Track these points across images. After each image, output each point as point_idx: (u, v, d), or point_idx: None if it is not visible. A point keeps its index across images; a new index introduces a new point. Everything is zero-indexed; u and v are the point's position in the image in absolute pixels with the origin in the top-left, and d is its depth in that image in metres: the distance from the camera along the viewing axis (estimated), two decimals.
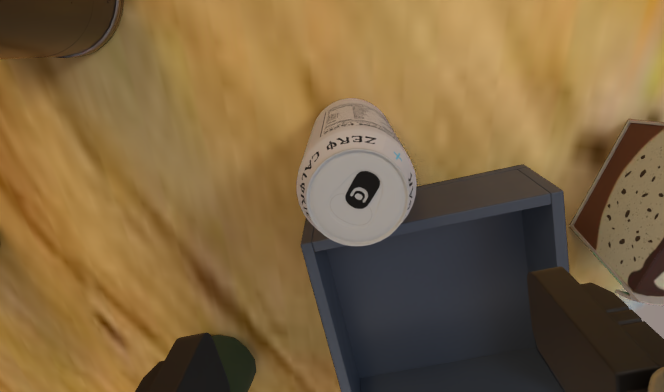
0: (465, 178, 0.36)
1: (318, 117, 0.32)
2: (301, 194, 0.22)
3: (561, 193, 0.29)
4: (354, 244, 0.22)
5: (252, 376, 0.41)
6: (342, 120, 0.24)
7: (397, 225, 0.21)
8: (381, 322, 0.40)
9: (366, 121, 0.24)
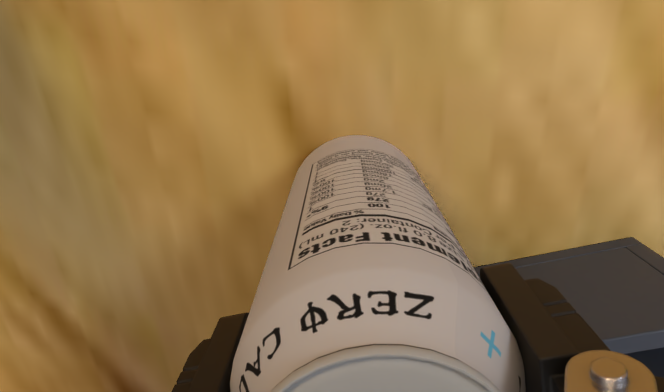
0: (538, 259, 0.22)
1: (301, 169, 0.19)
2: None
3: None
4: None
5: None
6: (342, 213, 0.11)
7: None
8: None
9: (396, 218, 0.11)
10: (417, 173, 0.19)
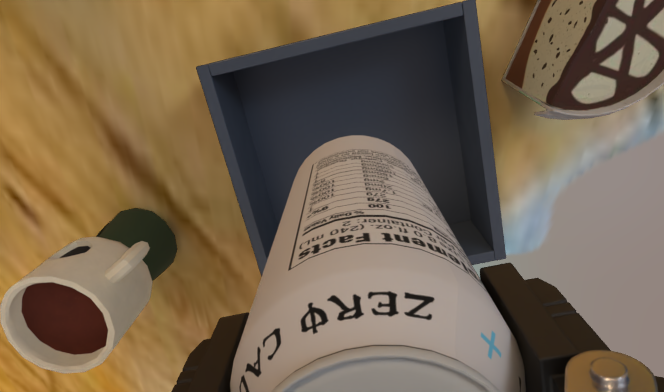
0: None
1: (301, 169, 0.19)
2: None
3: (473, 1, 0.27)
4: None
5: (170, 251, 0.38)
6: (342, 213, 0.11)
7: None
8: None
9: (397, 219, 0.11)
10: (417, 173, 0.19)
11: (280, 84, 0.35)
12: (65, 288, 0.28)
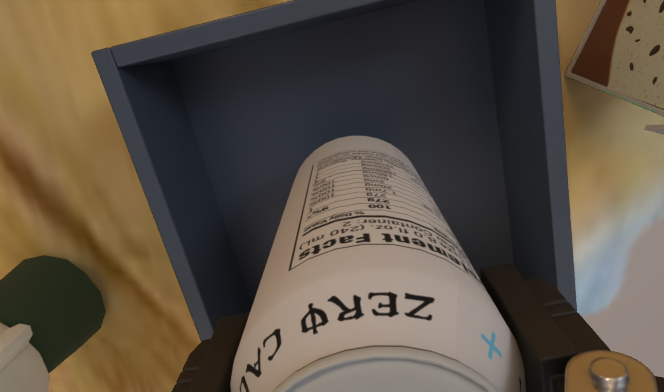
0: None
1: (301, 170, 0.19)
2: None
3: None
4: None
5: (93, 316, 0.27)
6: (343, 214, 0.11)
7: None
8: None
9: (397, 219, 0.11)
10: (417, 174, 0.19)
11: (241, 81, 0.24)
12: None
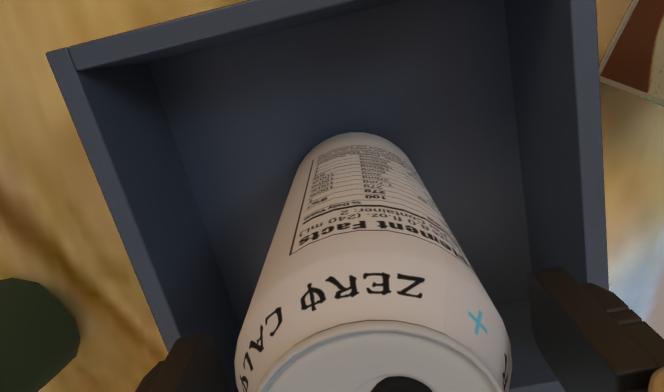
0: None
1: (302, 165, 0.20)
2: None
3: None
4: None
5: (65, 346, 0.24)
6: (340, 203, 0.12)
7: None
8: None
9: (392, 209, 0.11)
10: (414, 169, 0.19)
11: (228, 86, 0.21)
12: None
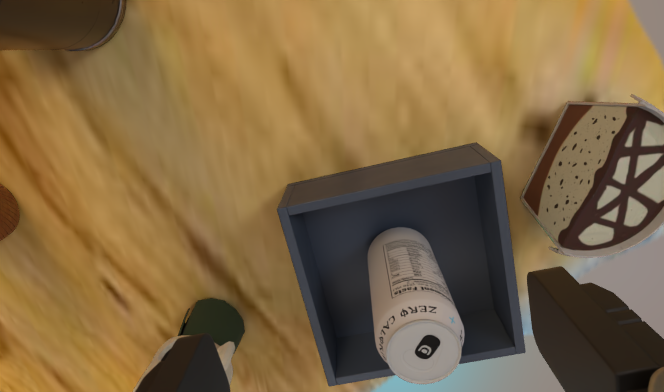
0: (424, 155, 0.41)
1: (375, 245, 0.40)
2: (380, 343, 0.30)
3: (499, 162, 0.34)
4: (419, 381, 0.30)
5: (240, 335, 0.45)
6: (405, 278, 0.33)
7: (452, 370, 0.29)
8: (355, 286, 0.45)
9: (424, 280, 0.32)
10: (430, 248, 0.40)
11: None
12: None
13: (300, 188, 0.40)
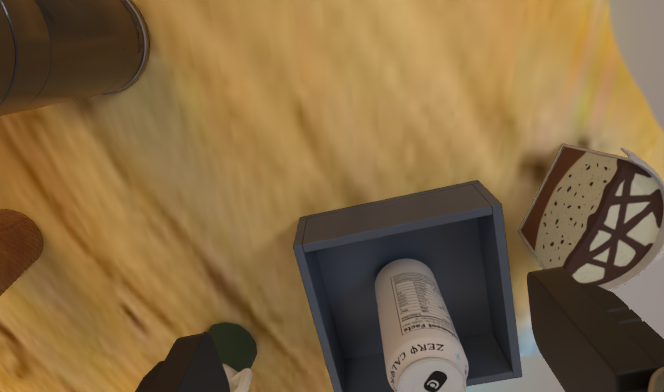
0: (429, 191, 0.43)
1: (382, 276, 0.43)
2: (391, 377, 0.33)
3: (500, 205, 0.37)
4: None
5: (253, 357, 0.48)
6: (414, 314, 0.35)
7: None
8: (362, 311, 0.47)
9: (431, 317, 0.35)
10: (434, 279, 0.43)
11: None
12: None
13: (312, 222, 0.43)
